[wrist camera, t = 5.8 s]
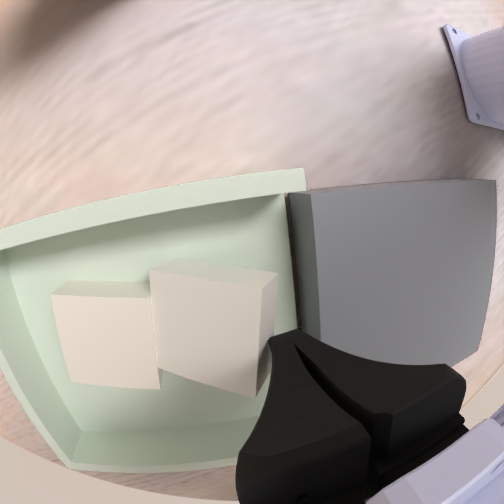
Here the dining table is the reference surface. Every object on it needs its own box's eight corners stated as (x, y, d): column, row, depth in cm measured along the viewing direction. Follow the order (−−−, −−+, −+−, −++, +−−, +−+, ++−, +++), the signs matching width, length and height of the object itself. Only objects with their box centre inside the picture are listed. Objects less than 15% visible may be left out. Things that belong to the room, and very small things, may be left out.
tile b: (50, 294, 10) (67, 279, 12) (71, 381, 11) (83, 360, 13) (149, 298, 11) (156, 281, 13) (160, 389, 12) (163, 365, 13)
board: (465, 178, 15) (495, 180, 12) (454, 335, 18) (477, 350, 15) (288, 192, 13) (310, 194, 11) (305, 394, 16) (321, 424, 14)
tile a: (278, 272, 11) (262, 288, 9) (270, 371, 12) (255, 398, 10) (177, 258, 12) (149, 269, 11) (181, 348, 13) (158, 367, 12)
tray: (277, 171, 13) (303, 167, 10) (299, 407, 16) (318, 445, 13) (-3, 231, 11) (-43, 244, 8) (79, 432, 14) (67, 468, 11)
